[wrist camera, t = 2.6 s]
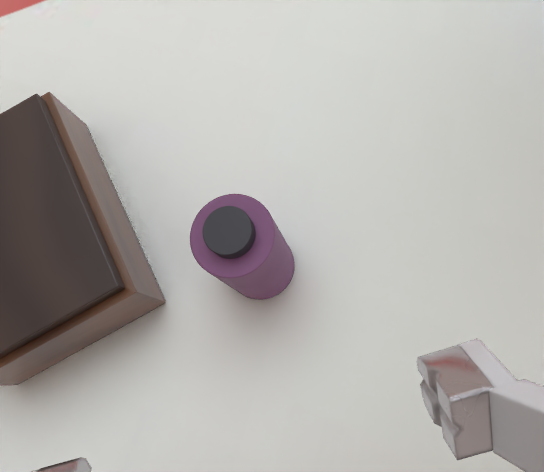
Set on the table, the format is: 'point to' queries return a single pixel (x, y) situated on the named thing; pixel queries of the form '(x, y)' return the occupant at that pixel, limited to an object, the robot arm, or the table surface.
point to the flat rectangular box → (61, 243)
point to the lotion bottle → (242, 246)
